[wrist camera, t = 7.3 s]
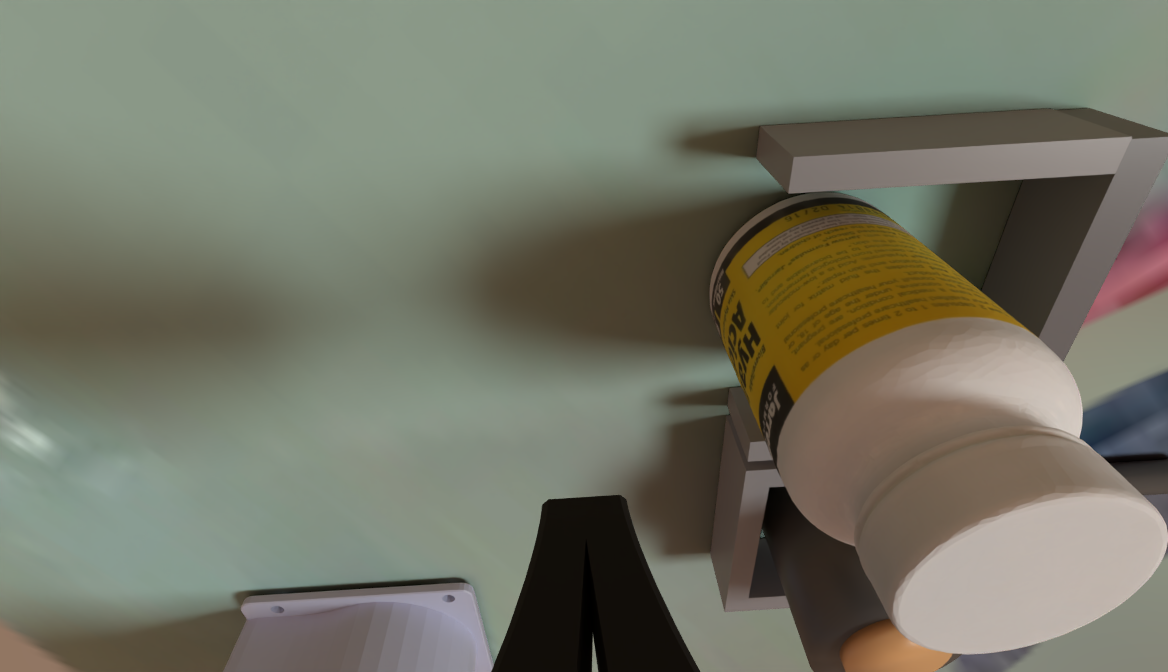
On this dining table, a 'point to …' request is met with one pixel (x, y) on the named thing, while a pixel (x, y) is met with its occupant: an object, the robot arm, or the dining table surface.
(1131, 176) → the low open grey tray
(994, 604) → the supplement bottle
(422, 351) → the dining table surface
